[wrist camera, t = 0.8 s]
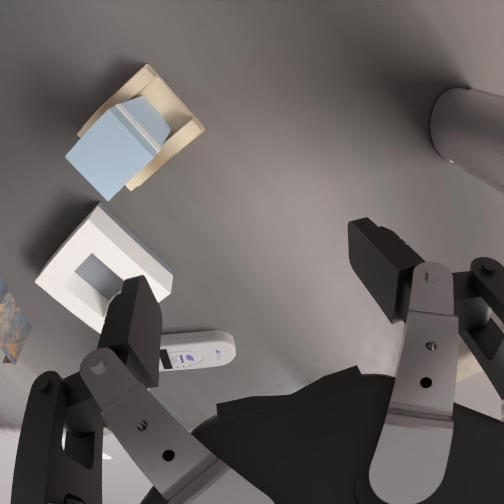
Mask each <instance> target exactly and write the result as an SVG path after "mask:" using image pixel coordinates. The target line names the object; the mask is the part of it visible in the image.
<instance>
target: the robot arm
mask: <svg viewBox="0 0 504 504" xmlns="http://www.w3.org/2000/svg"><path fill="white" fill-rule="evenodd" d="M430 131H431V138H432V141H433V144H434V146H435V149H436V150H437V152H438V153H439V154H440V156H442V157H443V158H444V159H446V160H448V161H449V162H451V163H453V164H455V165H457V166H458V167H460V168H462V169H464V170H465V171H467V172H469V173H470V174H472V175H474V176H475V177H477V178H479V179H480V180H482V181H484V182H485V183H487V184H488V185H490V186H492V187H493V188H495V189H496V190H498V191H499V192H501V193H502V194H504V97H503V96H500V95H496V94H493V93H489V92H486V91H482V90H478V89H474V88H471V89H470V90H466V89H462V88H452V89H449V90H447V91H446V92H444V93H443V94H442V95H441V96H440V97H439V98H438V100H437V102H436V103H435V106H434V108H433V111H432V115H431V121H430ZM348 244H349V260H350V264H351V266H352V269H353V270H354V272H355V273H356V274H357V276H358V277H359V279H360V280H361V281H362V283H363V284H364V285H365V287H366V288H367V290H368V291H369V292H370V294H371V295H372V296H373V298H374V299H375V301H376V302H377V303H378V305H379V306H380V308H381V309H382V311H383V312H384V313H385V315H386V316H387V318H388V319H389V321H390V322H391V323H392V324H394V323H397V322H399V321H402V320H403V322H404V323H405V327H404V333H403V338H402V343H401V348H400V353H399V358H398V363H397V367H396V371H395V376H394V377H392V376H388V375H383V374H361V373H360V371H359V369H358V367H357V365H356V366H353V367H350V368H348V369H345V370H342V371H339V372H336V373H333V374H330V375H327V376H324V377H322V378H320V379H318V380H317V381H315V382H313V383H311V384H309V385H308V386H306V387H304V388H302V389H300V390H299V391H297V392H295V393H293V394H290V395H280V396H251V397H247V398H242V399H238V400H233V401H229V402H224V403H219V404H216V406H217V415H215V416H212V417H211V418H209V419H207V420H205V421H204V422H203V423H201V424H200V425H199V426H197V427H196V428H195V429H194V430H193V431H192V432H191V433H190V432H188V431H187V430H186V429H185V428H184V427H183V426H182V425H181V424H180V423H179V422H178V421H177V420H176V419H175V418H174V417H173V416H172V415H171V414H170V413H169V412H168V411H167V410H166V409H165V408H164V407H163V406H162V405H161V404H160V403H159V402H158V400H157V399H156V398H155V397H154V396H153V395H152V394H151V393H150V392H149V391H148V388H152V387H158V382H159V361H160V344H161V330H162V313H161V309H160V306H159V304H158V302H157V300H156V298H155V296H154V294H153V292H152V290H151V287H150V285H149V283H148V281H147V279H146V277H145V276H144V275H140V276H136V277H132V278H128V279H125V280H124V283H123V287H122V290H121V294H117V295H116V296H115V297H114V298H113V300H112V301H111V302H110V304H109V306H108V310H107V313H106V314H107V316H106V317H105V320H104V323H105V324H103V328H102V331H101V335H100V339H99V343H98V347H97V349H96V350H94V351H92V352H90V353H89V354H88V355H87V356H86V357H85V358H84V359H83V361H82V363H81V365H80V371H79V372H77V373H75V374H73V375H71V376H68V377H66V378H64V379H62V378H61V377H60V375H59V374H58V373H57V372H55V371H47V372H44V373H43V374H41V375H40V376H39V377H38V378H37V379H36V380H35V381H34V383H33V385H32V387H31V390H30V394H29V398H28V402H27V406H26V410H25V414H24V419H23V423H22V428H21V433H20V438H19V443H18V449H17V455H16V461H15V468H14V476H13V484H12V494H11V504H102V444H103V428H104V427H107V426H109V428H110V429H111V431H112V432H113V434H114V435H115V437H116V438H117V439H118V441H119V442H120V444H121V445H122V446H123V448H124V449H125V450H126V452H127V453H128V454H129V456H130V457H131V458H132V460H133V461H134V462H135V463H136V465H137V466H138V467H139V468H140V470H141V471H142V472H143V473H144V474H145V476H146V477H147V478H148V479H149V480H150V482H151V483H152V484H153V487H152V488H151V489H150V491H149V492H148V494H147V495H146V496H145V498H144V499H143V500H142V502H141V503H140V504H504V333H503V332H502V331H501V329H500V328H499V327H498V326H497V324H496V323H495V322H494V321H493V319H492V318H491V315H492V312H494V313H495V314H496V315H497V316H498V318H499V319H500V320H501V321H502V323H503V324H504V267H503V266H502V265H501V264H500V263H499V262H497V261H496V260H494V259H491V258H487V257H479V258H476V259H474V260H473V261H472V263H471V266H470V270H469V271H467V272H456V273H452V272H451V271H450V269H449V268H448V267H446V266H445V265H443V264H440V263H437V262H425V261H424V260H423V259H422V258H421V257H420V256H419V255H418V254H417V253H416V252H415V251H414V250H413V249H412V248H411V247H410V246H408V245H406V243H405V242H404V241H403V240H402V239H400V237H399V236H398V235H397V234H395V233H394V232H393V231H392V230H389V229H387V228H385V227H382V226H380V227H378V226H377V225H375V224H374V223H373V222H372V221H371V220H370V219H369V218H367V217H366V218H362V219H358V220H354V221H350V222H349V223H348ZM458 333H459V335H460V336H461V338H462V339H463V340H464V342H465V343H466V345H467V346H468V348H469V349H470V351H471V352H472V354H473V355H474V356H475V358H476V359H477V361H478V362H479V364H480V366H481V367H482V369H483V370H484V372H485V373H486V375H487V376H488V378H489V380H490V381H491V383H492V384H493V386H494V387H495V389H496V391H497V392H498V394H499V396H500V397H501V399H502V401H503V402H502V415H503V417H502V421H500V420H498V419H495V418H492V417H490V416H487V415H485V414H482V413H480V412H477V411H474V410H472V409H469V408H467V407H464V406H462V405H459V404H457V403H454V395H455V385H456V373H457V358H458ZM63 427H64V428H65V429H66V430H67V431H66V439H65V448H64V450H63V448H62V434H63Z"/></svg>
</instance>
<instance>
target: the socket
mask: <svg viewBox="0 0 504 504" xmlns="http://www.w3.org/2000/svg"><path fill="white" fill-rule="evenodd" d="M173 271H174V270H173V269H172V268H171V267H170V266H168V265H167V264H166V263H165V262H164V261H163V260H162V259H161V258H160V257H159V256H157V255H156V254H155V253H154V252H153V251H152V250H151V249H150V248H149V247H148V246H147V245H146V244H144V243H143V242H142V241H141V240H140V239H139V238H138V237H137V236H136V235H135V234H134V233H133V232H132V231H131V230H130V229H129V228H128V227H126V226H125V225H124V224H123V223H122V222H121V221H120V220H119V219H118V218H117V217H116V216H115V215H114V214H113V213H112V212H111V211H110V210H109V209H108V208H107V207H106V206H105V205H104V204H103V203H102V202H101V201H100V202H99V204H98V205H97V206H96V207H95V208H94V209H93V210H92V211H91V212H90V213H89V214H88V215H87V216H86V217H85V218H84V219H83V221H82V222H81V223H80V224H79V225H78V226H77V227H76V228H75V229H74V231H73V232H72V233H71V234H70V235H69V236H68V237H67V239H66V240H65V241H64V242H63V243H62V244H61V246H60V247H59V248H58V249H57V250H56V252H55V253H54V254H53V255H52V256H51V258H50V259H49V260H48V261H47V263H46V264H45V266H44V268H43V269H42V271H41V272H40V274H39V276H38V277H37V279H36V281H35V282H36V283H37V284H38V285H39V286H40V287H41V288H43V289H44V290H45V291H46V292H47V293H49V294H50V295H51V296H52V297H53V298H55V299H56V300H57V301H58V302H59V303H61V304H62V305H63V306H64V307H66V308H67V309H68V310H69V311H71V312H72V313H73V314H75V315H76V316H77V317H78V318H80V319H81V320H82V321H84V322H85V323H86V324H88V325H89V326H90V327H92V328H93V329H95V330H96V331H97V332H99V333H100V334H101V331H102V328H103V324H105V323H104V320H105V317H106V316H107V314H106V313H107V310H108V306H109V304H110V302H111V301H112V300H113V298H114V297H115V296H116V295H117V294H121V290H122V287H123V283H124V280H125V279H128V278H132V277H136V276H140V275H144V276H145V277H146V279H147V281H148V283H149V285H150V287H151V290H152V292H153V294H154V296H155V298H156V300H157V302H160V301H161V300H162V299H164V298H165V297H167V296H168V295H169V294H171V288H172V279H173Z"/></svg>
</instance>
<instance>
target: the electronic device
mask: <svg viewBox="0 0 504 504" xmlns="http://www.w3.org/2000/svg"><path fill="white" fill-rule="evenodd" d="M235 354H236V351H235V344H234V339H233V337H232V336H231V335H230V334H229V333H227V332H225V331H222V330H207V331H197V332H186V333H176V334H168V335H167V334H164V335H161V344H160V361H159V371H171V370H184V369H195V368H205V367H214V366H222V365H225V364H227V363H229V362H230V361H232V360H233V358H234V357H235ZM148 391H149V388H148Z"/></svg>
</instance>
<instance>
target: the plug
mask: <svg viewBox="0 0 504 504" xmlns="http://www.w3.org/2000/svg"><path fill="white" fill-rule="evenodd" d="M171 130H172V127H171V126H170V124H169V123H168V122H167V121H166V120H165V119H164V118H163V117H162V116H161V114H160V113H159V112H158V111H157V110H156V109H155V108H154V107H153V105H152V104H151V103H150V102H149V101H148V100H147V99H146V98H145V97H144V96H140V97H137V98H135V99H132V100H129V101H127V102H124V103H122V104H121V103H119V104H117V105H115V106H114V107H112V108H109V109H108V110H107V111H106V112H105V113H104V114H103V115H102V116H101V117H100V118H99V119H98V120H97V121H96V122H95V123H94V124H93V126H92V127H91V128H90V129H89V130H88V131H87V132H86V133H85V134H84V135H83V136H82V138H81V139H80V140H79V141H78V142H77V143H76V144H75V146H74V147H73V148H72V149H71V150H70V151H69V153H68V154H67V155H66V156H65V157H66V158H67V160H68V161H69V162H70V163H71V164H72V165H73V166H74V167H75V168H76V169H77V170H78V171H79V172H80V173H81V174H82V175H83V176H84V177H85V178H86V179H87V180H88V181H89V182H90V183H91V184H92V185H93V186H94V187H95V189H96V190H97V191H98V192H99V193H100V194H101V195H102V196H103V197H104V198H105V199H106V200H107V201H109V200H110V199H111V198H112V197H113V196H114V195H115V194H116V193H117V192H118V191H119V190H120V189H121V188H122V187H123V186H124V185H125V184H126V183H127V182H128V181H130V180H131V179H132V178H133V177H134V176H135V175H136V174H137V173H138V172H139V171H140V170H141V169H142V168H143V167H145V166H146V165H147V164H148V163H149V162H150V161H151V160H152V159H153V158H154V157H155V156H156V154H157V153H158V152H159V151H160V149H161V146H162V144H163V142H164V141H165V139H166V138H167V136H168V134H169V133H170V131H171Z"/></svg>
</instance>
